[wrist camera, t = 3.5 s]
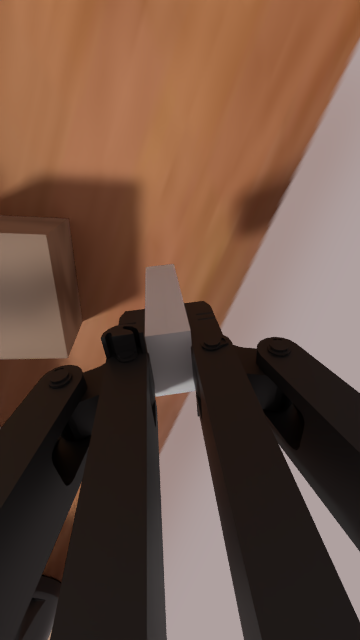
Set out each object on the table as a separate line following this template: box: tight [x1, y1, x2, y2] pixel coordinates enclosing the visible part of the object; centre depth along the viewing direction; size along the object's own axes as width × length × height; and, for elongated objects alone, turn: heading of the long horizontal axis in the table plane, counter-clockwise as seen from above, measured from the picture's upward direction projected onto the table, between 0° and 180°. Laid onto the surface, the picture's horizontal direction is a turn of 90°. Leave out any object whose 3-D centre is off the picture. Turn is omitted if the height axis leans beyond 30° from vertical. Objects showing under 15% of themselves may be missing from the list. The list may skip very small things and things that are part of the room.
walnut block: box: [0, 215, 82, 359], centre depth 18 cm, size 8×6×5 cm
